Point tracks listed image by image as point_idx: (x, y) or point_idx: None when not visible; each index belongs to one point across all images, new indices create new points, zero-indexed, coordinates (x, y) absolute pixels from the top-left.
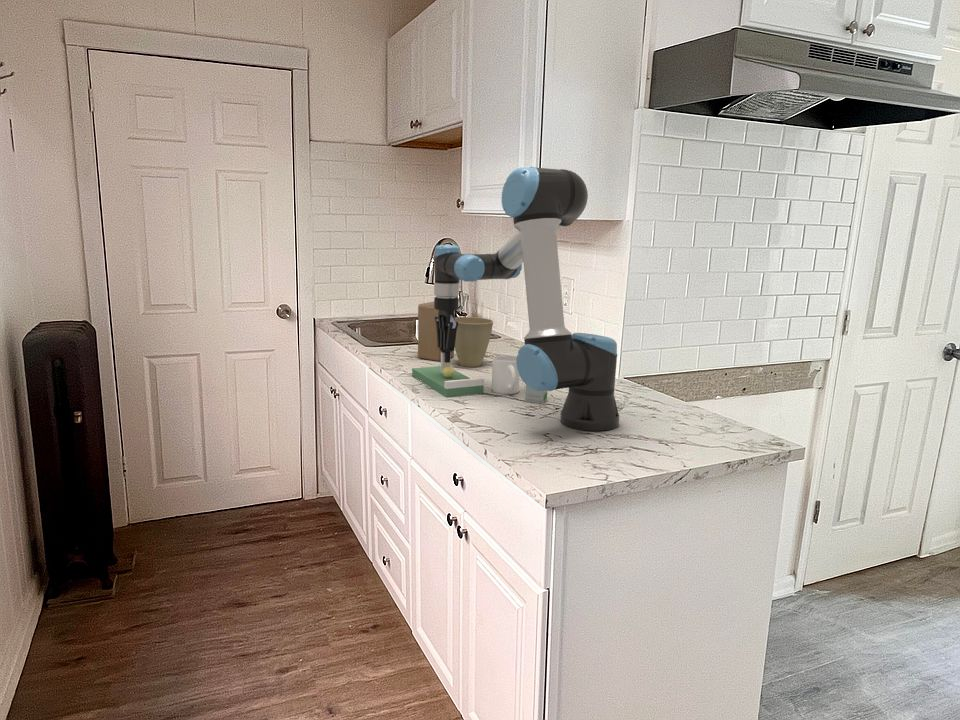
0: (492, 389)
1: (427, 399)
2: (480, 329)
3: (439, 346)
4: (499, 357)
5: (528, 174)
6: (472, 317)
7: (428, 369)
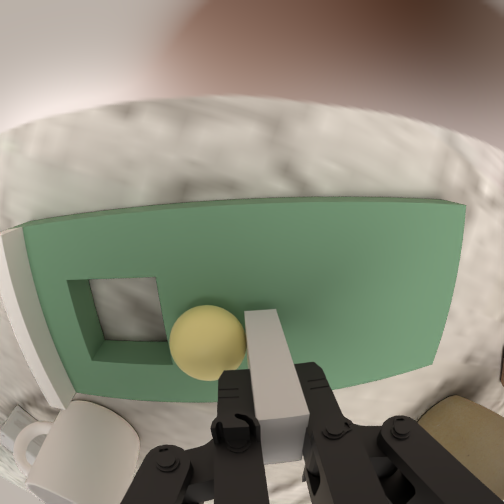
0: (88, 405)
1: (23, 135)
2: None
3: (379, 436)
4: None
5: None
6: None
7: (422, 276)
